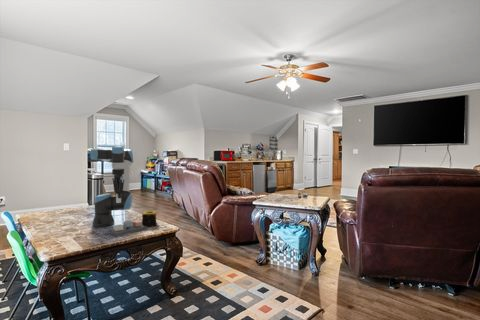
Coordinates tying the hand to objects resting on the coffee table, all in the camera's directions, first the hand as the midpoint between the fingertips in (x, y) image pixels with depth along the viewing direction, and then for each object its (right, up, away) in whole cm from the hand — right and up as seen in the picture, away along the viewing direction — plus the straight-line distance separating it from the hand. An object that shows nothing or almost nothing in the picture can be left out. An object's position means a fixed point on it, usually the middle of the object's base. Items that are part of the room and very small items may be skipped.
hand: (118, 202), depth 189 cm
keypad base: (+5, -21, +5) cm, 22 cm away
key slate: (+5, -19, +4) cm, 20 cm away
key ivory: (0, -20, -1) cm, 20 cm away
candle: (+15, -21, +20) cm, 32 cm away
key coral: (+9, -20, +10) cm, 24 cm away
